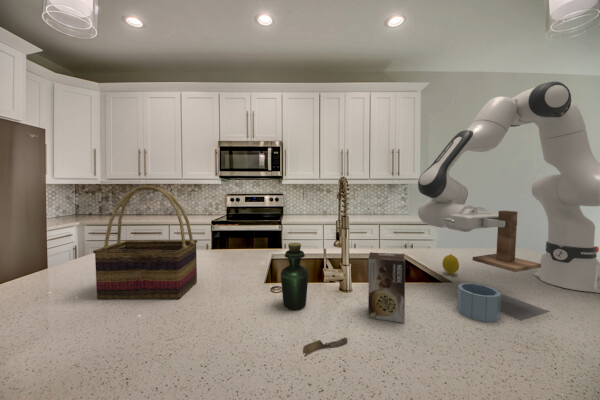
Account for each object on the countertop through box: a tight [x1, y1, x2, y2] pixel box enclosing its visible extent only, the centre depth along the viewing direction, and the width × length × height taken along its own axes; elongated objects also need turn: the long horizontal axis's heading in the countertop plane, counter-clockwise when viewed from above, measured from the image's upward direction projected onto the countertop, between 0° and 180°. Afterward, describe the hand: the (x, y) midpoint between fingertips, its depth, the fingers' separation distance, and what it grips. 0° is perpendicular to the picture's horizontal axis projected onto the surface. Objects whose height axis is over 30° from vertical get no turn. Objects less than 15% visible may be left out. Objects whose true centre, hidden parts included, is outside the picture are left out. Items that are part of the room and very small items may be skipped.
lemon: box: [442, 254, 460, 275], centre depth 98 cm, size 6×6×8 cm
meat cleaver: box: [302, 337, 348, 358], centre depth 54 cm, size 12×1×5 cm
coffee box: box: [367, 252, 406, 324], centre depth 67 cm, size 9×6×16 cm
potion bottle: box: [280, 242, 310, 311], centre depth 72 cm, size 8×8×18 cm
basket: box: [92, 185, 198, 300], centre depth 82 cm, size 26×15×35 cm, turn 90°
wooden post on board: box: [472, 210, 541, 273], centre depth 71 cm, size 11×11×15 cm
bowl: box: [456, 282, 502, 323], centre depth 67 cm, size 9×9×7 cm
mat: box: [500, 293, 551, 321], centre depth 72 cm, size 13×13×1 cm
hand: (510, 223), depth 70 cm, fingers closed on wooden post on board, 3 cm apart
